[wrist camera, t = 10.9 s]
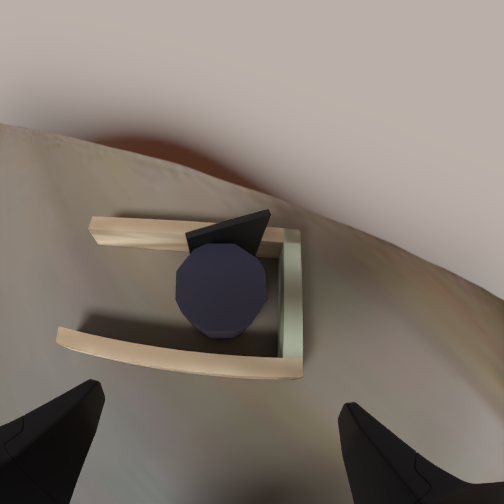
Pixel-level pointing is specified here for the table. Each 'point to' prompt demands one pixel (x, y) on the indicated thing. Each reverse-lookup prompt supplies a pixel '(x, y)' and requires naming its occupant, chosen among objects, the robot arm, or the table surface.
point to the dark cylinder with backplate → (223, 276)
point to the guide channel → (280, 368)
